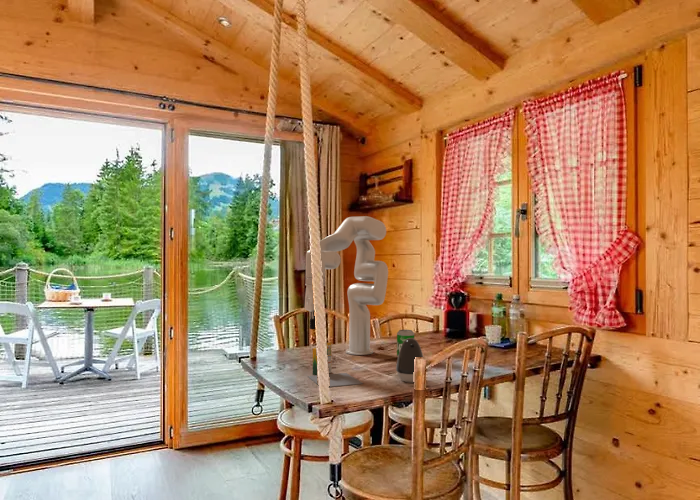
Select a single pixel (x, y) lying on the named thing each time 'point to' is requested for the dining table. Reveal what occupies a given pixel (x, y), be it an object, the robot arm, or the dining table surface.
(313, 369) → the crayon box
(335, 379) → the mat
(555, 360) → the dining table surface
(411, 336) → the soda can
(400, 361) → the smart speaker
